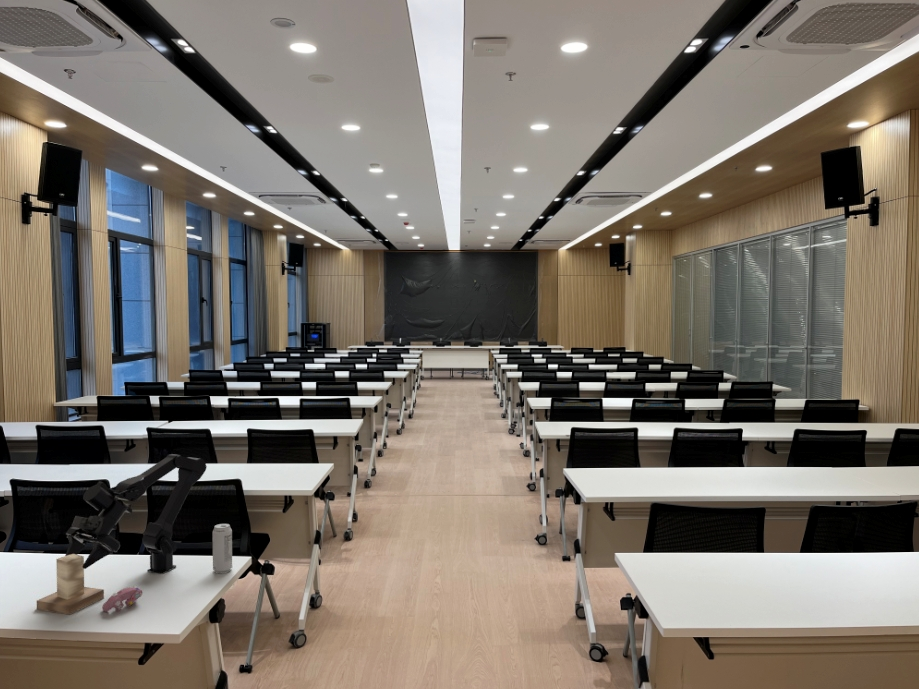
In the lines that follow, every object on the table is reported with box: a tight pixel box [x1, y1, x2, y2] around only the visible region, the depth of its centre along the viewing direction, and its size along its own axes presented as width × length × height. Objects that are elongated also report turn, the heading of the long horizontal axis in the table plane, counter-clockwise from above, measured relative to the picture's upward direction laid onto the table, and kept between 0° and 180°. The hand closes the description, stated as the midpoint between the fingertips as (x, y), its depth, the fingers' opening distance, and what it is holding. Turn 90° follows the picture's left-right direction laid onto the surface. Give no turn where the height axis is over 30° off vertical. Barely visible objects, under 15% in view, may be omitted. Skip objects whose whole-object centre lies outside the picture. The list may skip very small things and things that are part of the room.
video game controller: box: [101, 585, 143, 613], centre depth 191 cm, size 10×5×7 cm, turn 149°
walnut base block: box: [36, 586, 105, 615], centre depth 194 cm, size 12×12×2 cm
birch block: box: [55, 554, 85, 600], centre depth 194 cm, size 5×5×11 cm
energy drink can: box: [212, 523, 233, 574], centre depth 220 cm, size 6×6×15 cm
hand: (74, 565), depth 195 cm, fingers open, 9 cm apart
